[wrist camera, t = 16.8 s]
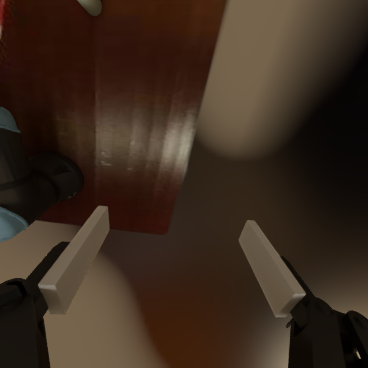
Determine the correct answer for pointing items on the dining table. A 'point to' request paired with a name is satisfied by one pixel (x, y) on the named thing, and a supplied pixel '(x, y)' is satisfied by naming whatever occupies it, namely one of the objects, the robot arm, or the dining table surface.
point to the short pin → (91, 6)
